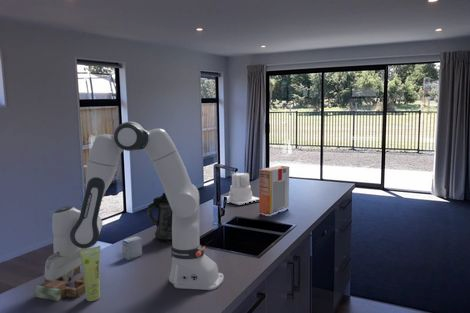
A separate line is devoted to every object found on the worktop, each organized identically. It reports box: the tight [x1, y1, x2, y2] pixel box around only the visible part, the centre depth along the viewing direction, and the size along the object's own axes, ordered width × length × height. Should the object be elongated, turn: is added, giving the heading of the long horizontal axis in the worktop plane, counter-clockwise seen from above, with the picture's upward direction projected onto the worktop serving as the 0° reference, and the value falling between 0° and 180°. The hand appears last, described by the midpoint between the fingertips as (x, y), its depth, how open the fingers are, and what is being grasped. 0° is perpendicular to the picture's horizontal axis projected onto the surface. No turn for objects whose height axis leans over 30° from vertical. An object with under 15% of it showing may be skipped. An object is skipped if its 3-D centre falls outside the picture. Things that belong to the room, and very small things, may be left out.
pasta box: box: [258, 165, 290, 215], centre depth 259 cm, size 23×8×30 cm, turn 140°
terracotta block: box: [45, 280, 67, 289], centre depth 147 cm, size 5×5×4 cm
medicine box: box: [122, 236, 143, 261], centre depth 183 cm, size 8×4×9 cm, turn 141°
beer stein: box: [146, 192, 173, 245], centre depth 206 cm, size 16×19×25 cm
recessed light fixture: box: [225, 172, 260, 206], centre depth 290 cm, size 25×22×21 cm
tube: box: [80, 245, 101, 302], centre depth 142 cm, size 6×5×20 cm
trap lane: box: [34, 265, 86, 302], centre depth 154 cm, size 21×23×4 cm
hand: (68, 281), depth 153 cm, fingers closed
